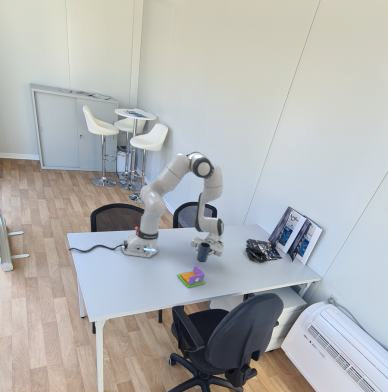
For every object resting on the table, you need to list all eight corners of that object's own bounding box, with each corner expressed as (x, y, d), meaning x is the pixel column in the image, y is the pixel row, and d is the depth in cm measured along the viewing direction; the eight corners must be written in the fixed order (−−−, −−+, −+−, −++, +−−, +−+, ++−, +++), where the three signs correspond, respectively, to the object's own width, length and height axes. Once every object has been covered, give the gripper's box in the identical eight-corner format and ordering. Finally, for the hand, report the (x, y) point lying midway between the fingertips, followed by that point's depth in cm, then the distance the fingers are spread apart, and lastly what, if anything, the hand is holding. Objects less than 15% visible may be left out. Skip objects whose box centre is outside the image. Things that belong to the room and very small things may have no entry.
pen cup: (198, 262, 173) (201, 247, 167) (195, 256, 178) (198, 242, 172) (207, 262, 176) (211, 248, 169) (204, 256, 180) (208, 242, 174)
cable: (241, 249, 212) (243, 244, 209) (257, 249, 217) (259, 244, 215) (252, 262, 200) (254, 257, 197) (268, 262, 205) (271, 257, 202)
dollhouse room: (204, 283, 170) (207, 274, 166) (188, 287, 163) (190, 278, 159) (193, 271, 177) (196, 262, 173) (177, 275, 170) (179, 266, 166)
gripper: (196, 233, 183) (188, 241, 173) (226, 244, 180) (220, 253, 169) (194, 241, 187) (186, 250, 176) (223, 252, 184) (217, 262, 173)
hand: (203, 252), depth 173 cm, fingers closed on pen cup, 6 cm apart
